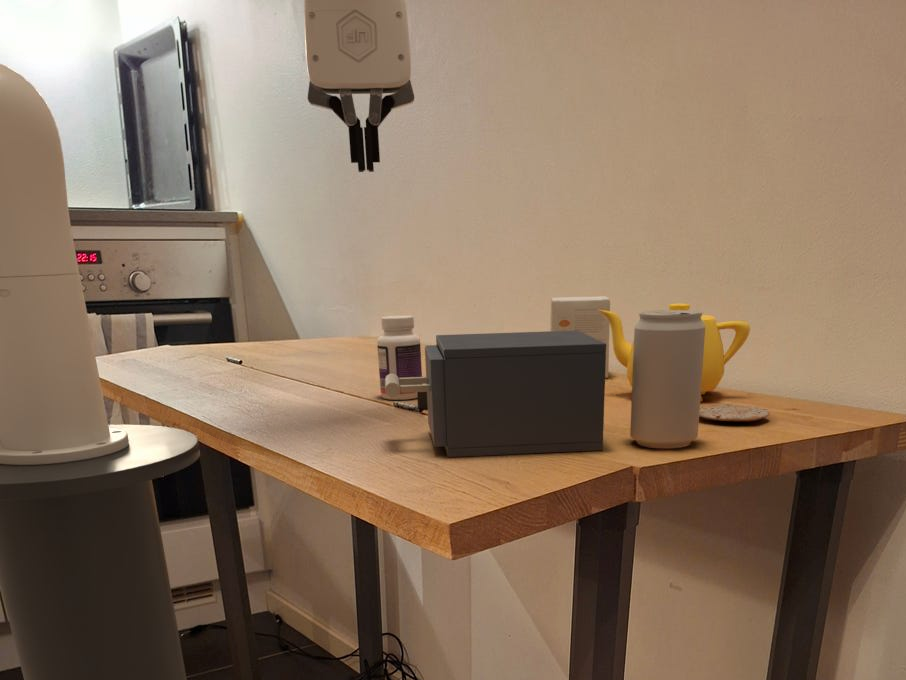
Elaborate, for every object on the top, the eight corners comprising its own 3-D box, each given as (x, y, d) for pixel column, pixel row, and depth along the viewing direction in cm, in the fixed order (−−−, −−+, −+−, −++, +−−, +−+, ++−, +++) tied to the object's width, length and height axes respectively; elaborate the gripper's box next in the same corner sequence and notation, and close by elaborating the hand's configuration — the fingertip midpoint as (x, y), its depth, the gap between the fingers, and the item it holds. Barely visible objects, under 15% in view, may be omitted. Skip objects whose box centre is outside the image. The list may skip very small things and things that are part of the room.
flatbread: (678, 416, 98) (679, 407, 98) (729, 408, 102) (729, 399, 101) (734, 428, 92) (735, 418, 92) (785, 419, 95) (786, 409, 95)
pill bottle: (428, 393, 117) (424, 314, 113) (416, 400, 113) (411, 318, 109) (388, 393, 119) (383, 314, 115) (375, 400, 114) (369, 318, 110)
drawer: (388, 448, 83) (383, 361, 80) (387, 425, 94) (382, 347, 90) (577, 440, 85) (579, 354, 81) (556, 418, 95) (557, 340, 92)
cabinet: (447, 457, 83) (443, 349, 80) (439, 430, 95) (435, 335, 91) (602, 450, 85) (606, 343, 81) (576, 425, 96) (578, 330, 92)
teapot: (588, 401, 109) (590, 307, 105) (602, 387, 119) (605, 300, 114) (742, 405, 104) (752, 307, 100) (744, 390, 114) (752, 300, 110)
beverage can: (674, 453, 83) (683, 315, 78) (616, 444, 87) (621, 312, 82) (709, 441, 87) (720, 309, 82) (652, 433, 91) (659, 307, 86)
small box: (605, 373, 131) (607, 295, 127) (608, 378, 126) (611, 298, 121) (549, 374, 131) (550, 297, 127) (551, 379, 126) (551, 299, 122)
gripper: (268, -57, 82) (290, 170, 90) (431, -56, 84) (440, 167, 91) (276, -34, 89) (296, 174, 97) (428, -34, 90) (435, 172, 98)
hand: (366, 170), depth 94 cm, fingers closed
